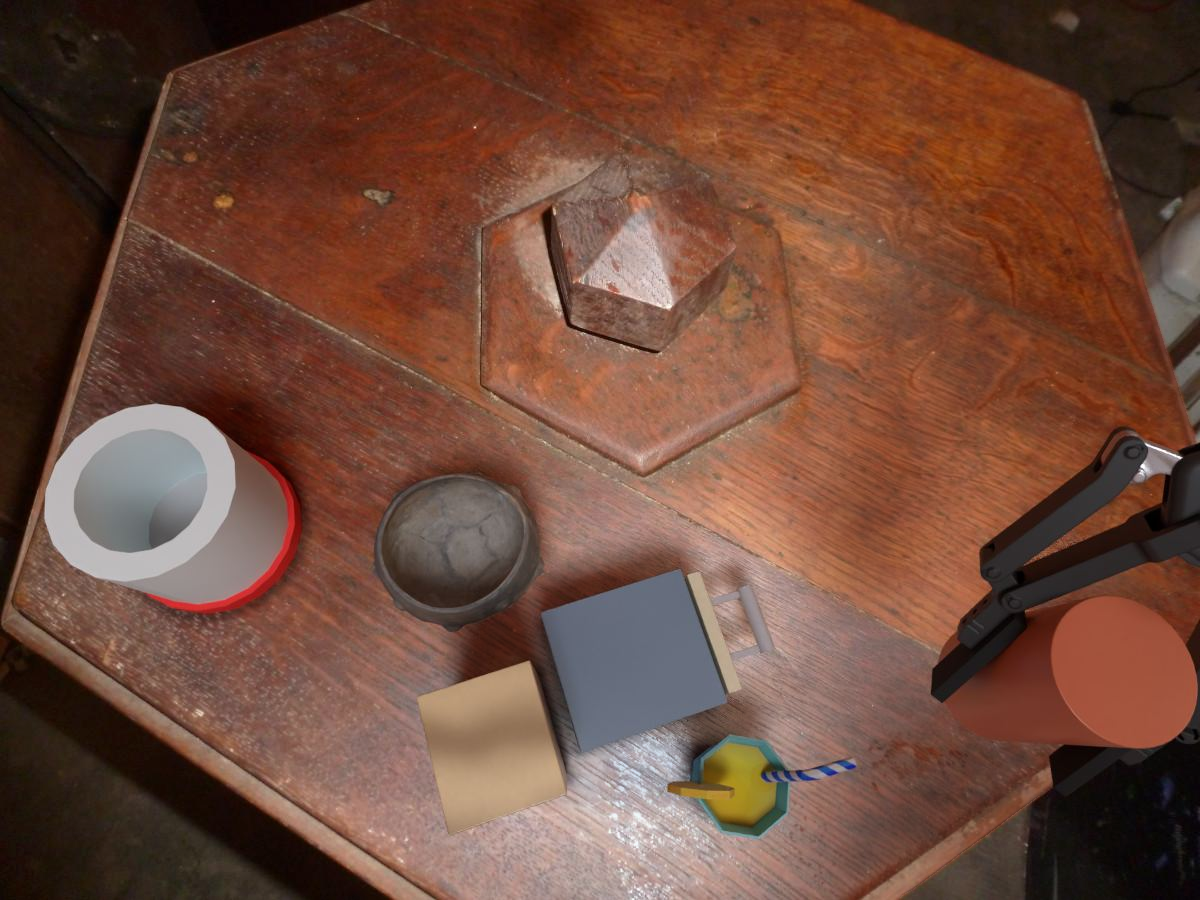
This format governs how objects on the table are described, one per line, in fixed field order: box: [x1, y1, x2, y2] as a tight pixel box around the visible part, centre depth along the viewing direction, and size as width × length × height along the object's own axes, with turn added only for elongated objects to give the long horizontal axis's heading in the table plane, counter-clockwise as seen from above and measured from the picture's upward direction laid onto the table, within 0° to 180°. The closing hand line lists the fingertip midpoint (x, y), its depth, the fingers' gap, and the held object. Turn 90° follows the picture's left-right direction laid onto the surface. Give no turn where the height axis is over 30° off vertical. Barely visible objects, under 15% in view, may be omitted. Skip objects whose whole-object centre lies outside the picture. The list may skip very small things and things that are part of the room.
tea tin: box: [937, 595, 1198, 748], centre depth 42 cm, size 7×7×12 cm
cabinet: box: [540, 567, 729, 754], centre depth 69 cm, size 13×12×10 cm
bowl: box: [371, 471, 546, 633], centre depth 71 cm, size 14×15×10 cm
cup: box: [666, 734, 857, 840], centre depth 63 cm, size 14×8×15 cm, turn 104°
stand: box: [416, 660, 568, 836], centre depth 61 cm, size 9×8×20 cm
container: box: [43, 403, 303, 615], centre depth 69 cm, size 16×16×15 cm
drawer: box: [684, 570, 776, 695], centre depth 69 cm, size 16×10×8 cm, turn 108°
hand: (996, 729), depth 43 cm, fingers closed on tea tin, 7 cm apart
